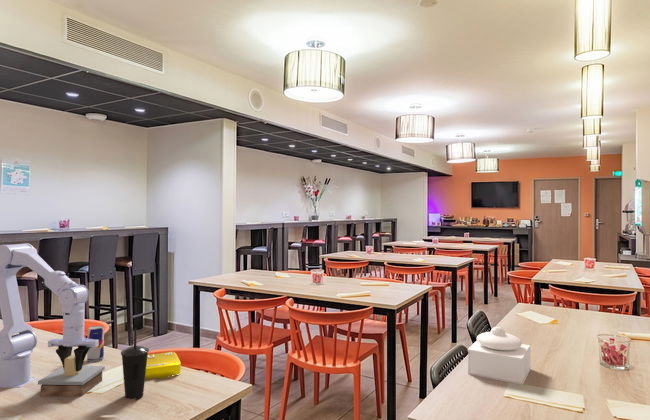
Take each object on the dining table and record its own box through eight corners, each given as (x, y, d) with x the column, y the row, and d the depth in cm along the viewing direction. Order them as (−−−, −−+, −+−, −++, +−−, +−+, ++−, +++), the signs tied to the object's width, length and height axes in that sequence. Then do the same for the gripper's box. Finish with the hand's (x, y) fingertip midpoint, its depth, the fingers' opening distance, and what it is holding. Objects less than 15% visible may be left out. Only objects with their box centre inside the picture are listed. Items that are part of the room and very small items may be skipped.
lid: (37, 384, 129) (38, 363, 129) (64, 368, 142) (64, 350, 142) (82, 385, 129) (82, 364, 129) (104, 369, 142) (104, 350, 142)
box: (40, 397, 129) (40, 385, 129) (64, 381, 141) (64, 370, 141) (81, 397, 129) (81, 385, 129) (102, 382, 141) (102, 371, 141)
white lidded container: (530, 369, 157) (530, 325, 158) (522, 386, 142) (522, 336, 142) (479, 360, 167) (480, 318, 167) (467, 374, 152) (467, 328, 152)
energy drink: (96, 363, 159) (97, 329, 159) (83, 361, 160) (84, 328, 160) (106, 358, 164) (107, 326, 164) (94, 357, 165) (94, 325, 165)
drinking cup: (153, 393, 132) (154, 327, 133) (135, 404, 125) (136, 333, 125) (133, 390, 135) (134, 324, 135) (114, 400, 128) (115, 331, 128)
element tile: (133, 383, 141) (133, 368, 141) (130, 369, 154) (130, 355, 155) (181, 376, 148) (181, 362, 148) (174, 362, 161) (174, 349, 161)
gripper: (41, 329, 131) (40, 374, 131) (90, 329, 131) (89, 375, 131) (56, 323, 138) (55, 366, 138) (102, 323, 138) (101, 367, 138)
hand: (73, 370), depth 135 cm, fingers closed on lid, 3 cm apart
